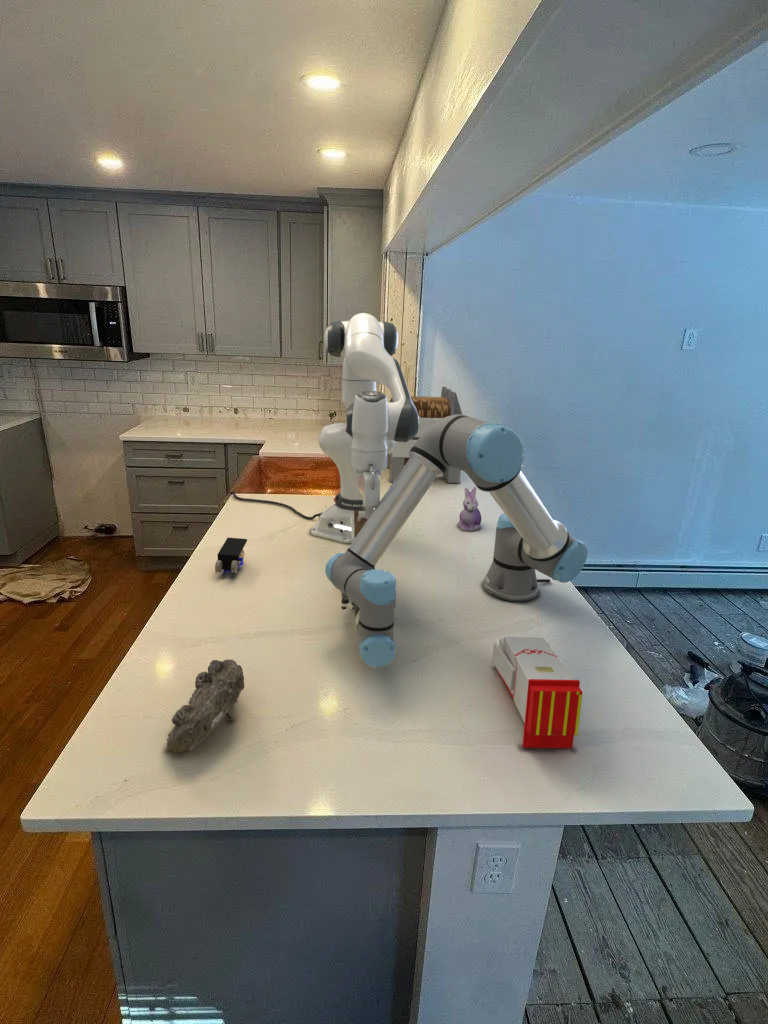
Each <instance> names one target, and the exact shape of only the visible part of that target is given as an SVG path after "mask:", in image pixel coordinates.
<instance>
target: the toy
mask: <svg viewBox="0 0 768 1024" xmlns="http://www.w3.org/2000/svg"><path fill="white" fill-rule="evenodd" d="M491 662H492V663H493V665H494V667H495V669H496V671H497V673H498V675H499V676H500V678H501V680H502V683H503V684H504V686H505V688H506V689H507V691H508V693H509V695H510V697H511V698H512V700H513V702H514V705H515V707H516V709H517V711H518V713H519V715H520V717H521V719H522V722H523V724H524V725H523V736H522V748H524V749H573V747H574V738H575V736H577V737H578V734H579V725H580V717H581V710H582V709H581V708H582V701H583V700H582V699H583V690H582V689H581V688H580V685H581V681H580V679H574V677H573V676H572V675H571V673H570V672H569V670H568V669H567V668H566V667H565V665H564V664H563V662H562V661H561V660H560V658H559V657H558V656H557V654H556V653H555V651H554V650H553V649H552V647H551V645H550V643H549V642H547V640H546V639H545V637H543V636H542V637H541V636H535V637H534V636H503V637H500V638H499V642H498V643H497V642H494V643H493V649H492V657H491Z"/></svg>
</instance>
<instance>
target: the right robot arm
mask: <svg viewBox="0 0 768 1024" xmlns="http://www.w3.org/2000/svg"><path fill="white" fill-rule="evenodd" d="M523 453H525V448H524V444H523V441H522V439H521V437H520V436H519V434H518V433H516V432H515V431H514V430H512V429H511V428H509V427H507V426H505V425H502V424H500V423H497V422H491V421H485V420H482V419H479V418H475V417H472V416H468V415H465V414H462V415H450V416H447V417H445V418H442V419H440V420H439V421H437V422H436V423H434V424H433V425H432V426H431V427H430V428H428V429H427V430H426V431H425V432H424V433H423V434H422V435H421V437H420V438H419V439H418V440H417V441H416V443H415V444H414V446H413V447H412V448H411V450H410V451H409V460H408V462H407V463H406V465H404V467H403V469H402V470H401V472H400V473H399V475H398V476H397V478H396V479H395V481H394V482H391V483H392V484H391V485H390V486H389V487H388V489H387V491H386V492H385V493H384V495H383V496H382V498H380V502H379V504H378V505H377V507H376V508H374V511H373V513H372V514H371V515H370V517H369V518H368V520H367V521H366V523H365V524H364V526H363V527H362V528H361V530H360V531H359V533H358V534H357V536H356V537H355V539H354V540H353V542H352V543H349V546H348V547H347V549H345V551H344V552H338V553H335V554H334V555H333V556H331V557H329V559H328V560H327V562H326V564H325V568H324V569H325V570H324V572H325V576H326V577H327V579H328V580H329V582H330V583H331V584H332V585H333V586H334V588H335V589H337V590H339V591H340V594H341V601H340V602H341V603H340V606H341V607H340V609H341V610H343V611H344V610H346V609H348V608H351V610H352V611H353V613H354V618H355V627H356V633H357V640H358V652H359V654H360V658H361V660H362V661H363V663H364V664H365V665H366V666H368V667H370V668H374V669H375V668H376V669H378V668H384V667H386V666H389V665H390V664H391V663H392V662H393V660H394V659H395V657H396V652H397V651H396V642H395V639H394V636H395V611H396V607H397V606H396V605H397V596H398V595H397V580H396V577H395V575H394V574H393V573H392V572H390V571H388V570H384V569H381V568H380V569H378V568H377V569H376V566H377V564H378V563H379V561H380V560H381V559H382V557H383V555H384V554H385V552H386V551H387V550H388V548H389V547H390V545H391V544H392V543H393V541H394V540H395V538H396V537H397V535H398V533H399V532H400V531H401V530H402V528H403V526H404V525H405V523H407V520H408V519H409V518H410V516H411V515H412V514H413V512H414V511H415V510H416V508H417V506H418V505H419V503H420V502H421V500H422V499H423V497H424V496H425V495H426V493H427V492H428V490H429V489H430V488H431V486H432V484H434V481H435V480H436V478H440V477H444V476H443V475H444V473H445V472H446V470H447V469H448V468H449V467H451V466H453V467H455V468H458V469H460V470H461V471H462V472H464V473H465V474H466V475H467V476H468V478H469V479H470V480H471V481H472V483H473V484H474V485H475V487H476V489H478V490H480V491H482V492H485V493H489V494H490V496H491V497H492V498H493V500H494V501H495V503H496V504H497V505H498V507H499V508H500V510H502V512H503V513H502V514H500V515H499V516H498V519H497V524H496V527H495V537H494V538H495V539H494V549H493V556H492V557H493V558H492V563H491V564H490V567H489V569H488V570H487V573H486V574H485V577H484V579H483V588H484V590H485V591H486V592H487V593H488V594H490V595H491V596H493V597H494V598H497V599H500V600H504V601H509V602H527V601H531V600H533V599H534V598H536V597H537V596H538V594H539V593H538V592H539V583H547V584H549V583H551V579H552V581H557V582H559V583H562V584H565V583H566V584H567V583H568V582H571V581H573V580H574V579H575V578H577V576H578V575H579V574H580V573H581V571H582V570H583V568H584V566H585V564H586V561H587V559H588V547H587V545H586V543H585V542H583V541H582V540H581V539H576V538H575V537H573V536H572V535H571V534H570V532H569V531H568V529H567V528H566V526H565V525H564V523H562V522H560V521H559V520H555V519H553V518H552V516H551V514H550V513H549V511H548V510H547V508H546V507H545V506H544V504H543V502H542V500H541V499H540V497H539V496H538V494H537V493H536V491H535V489H534V488H533V487H532V485H531V483H530V482H529V481H528V479H527V477H526V476H525V475H524V473H523V472H522V469H523V463H524V460H525V459H524V458H525V456H524V455H523ZM374 567H375V569H374ZM373 569H374V570H373ZM536 571H537V572H539V573H540V574H543V575H545V576H547V577H549V578H550V579H549V578H545V579H544V578H537V574H536Z"/></svg>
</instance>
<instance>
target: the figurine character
mask: <svg viewBox="0 0 768 1024" xmlns="http://www.w3.org/2000/svg"><path fill="white" fill-rule="evenodd" d="M247 542H248V538H240V537H226V539H225V541H224V543H223V544H222V546H221V547H220V549H219V551H218V552H217V560H216V562H215V564H214V572H215V573H221V577H222V578H224V577H225V576H226V574H227V573H230V574H231V573H232V574H231V578H234V577H235V575H236V573H237V572H239V571H240V567H242V566H243V565H244V564H245V562H244V558H245V551H244V547H245V546H246V544H247Z"/></svg>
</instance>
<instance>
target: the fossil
mask: <svg viewBox="0 0 768 1024" xmlns="http://www.w3.org/2000/svg"><path fill="white" fill-rule="evenodd" d="M243 670H244V669H243V667H242V665H240V664H237V662H236V661H235V660H234V659H232V658H231V659H227V658H226V659H224V660H223V661H222V660H217V659H212V660H211V661H210V663H209V665H208V666H207V671H201V672H199V673H198V674H197V675H196V676H195V680H194V684H195V685H194V687H195V689H194V690H193V693H192V694H191V697H190V698H189V700H188V704H184V705H182V706H181V707H180V709H177V710H176V711H175V713H174V715H173V716H172V718H171V723H172V724H173V727H172V730H171V731H170V732H168V734H167V738H166V741H167V742H166V745H167V749H168V750H169V751H173V752H174V753H176V754H178V753H182V752H188V751H189V752H192V751H193V750H195V748H196V747H197V746H199V744H200V743H201V742H203V741H204V740H205V739H206V738H207V737H208V736H209V735H210V734H211V733H212V732H214V730H215V729H217V727H218V726H219V724H220V722H221V721H222V720H223V719H224V718H225V716H226V717H227V719H229V720H233V717H232V715H230V714H229V710H230V709H231V708H234V706H235V704H236V703H237V702H238V699H239V697H240V695H241V693H242V691H243V690H245V689H244V688H245V675H244V671H243Z"/></svg>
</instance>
